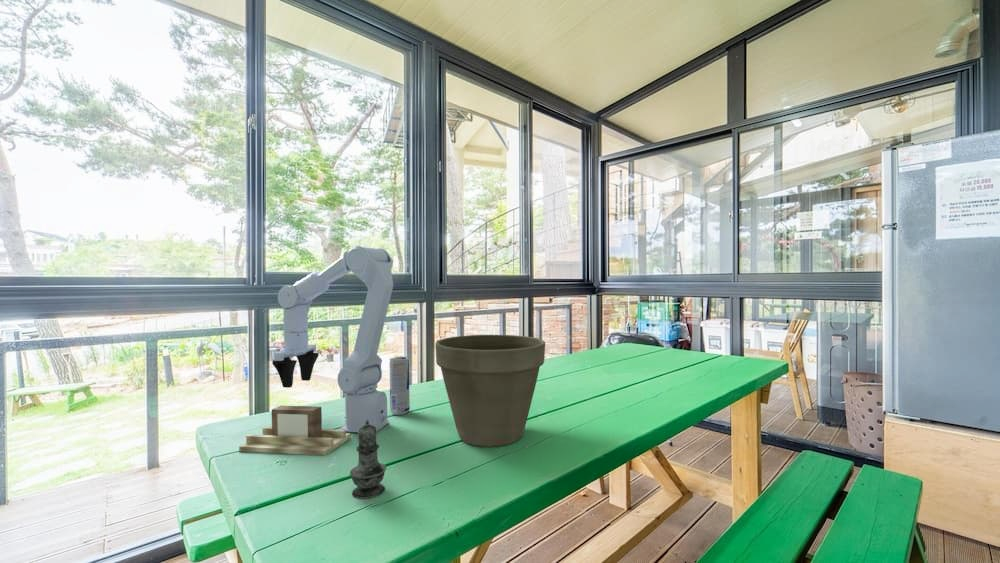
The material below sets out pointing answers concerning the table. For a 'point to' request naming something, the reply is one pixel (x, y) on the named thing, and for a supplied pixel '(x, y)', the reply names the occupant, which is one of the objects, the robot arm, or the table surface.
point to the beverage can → (399, 385)
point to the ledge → (295, 443)
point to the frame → (297, 421)
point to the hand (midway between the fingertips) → (297, 383)
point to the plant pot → (490, 384)
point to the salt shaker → (367, 465)
